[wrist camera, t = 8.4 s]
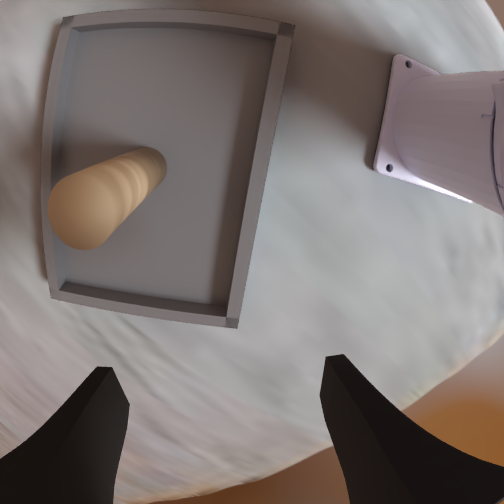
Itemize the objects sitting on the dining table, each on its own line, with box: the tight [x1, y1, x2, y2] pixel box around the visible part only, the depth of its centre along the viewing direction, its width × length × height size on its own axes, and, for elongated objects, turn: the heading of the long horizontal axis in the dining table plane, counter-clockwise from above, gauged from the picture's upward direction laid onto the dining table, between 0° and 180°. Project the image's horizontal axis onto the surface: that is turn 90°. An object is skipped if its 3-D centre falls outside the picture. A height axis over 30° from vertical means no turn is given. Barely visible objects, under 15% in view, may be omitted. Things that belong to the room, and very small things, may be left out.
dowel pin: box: [48, 147, 167, 250], centre depth 12 cm, size 2×2×8 cm
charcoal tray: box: [40, 9, 295, 329], centre depth 15 cm, size 13×18×2 cm
